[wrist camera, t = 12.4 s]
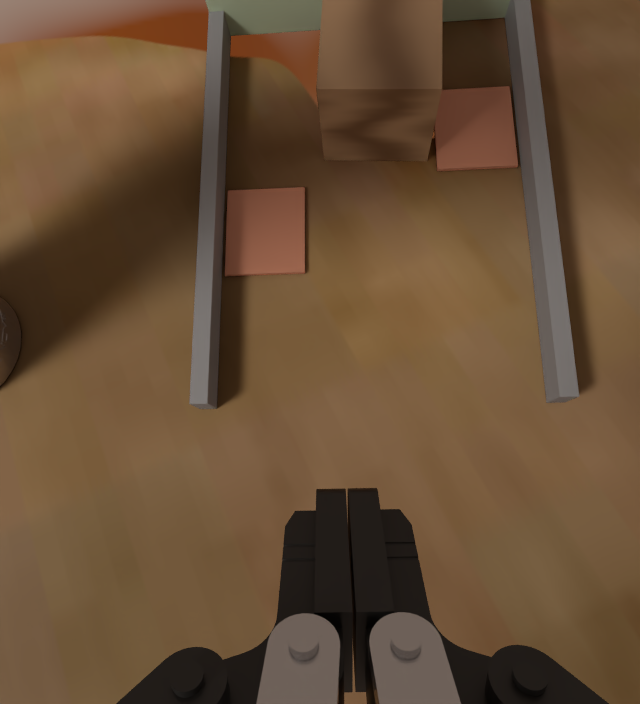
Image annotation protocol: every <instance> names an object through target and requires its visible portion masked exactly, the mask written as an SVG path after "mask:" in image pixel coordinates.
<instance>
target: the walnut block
mask: <svg viewBox="0 0 640 704" xmlns="http://www.w3.org/2000/svg"><path fill="white" fill-rule="evenodd" d="M442 9H443V0H322V14H321V28H320V43H319V58H318V73H317V88H316V89H317V99H318V109H319V118H320V127H321V136H322V145H323V154H324V160H351V161H427V160H428V155H429V150H430V145H431V140H432V135H433V130H434V126H435V121H436V116H437V111H438V107H439V102H440V97H441V92H442Z"/></svg>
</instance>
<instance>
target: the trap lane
mask: <svg viewBox="0 0 640 704" xmlns="http://www.w3.org/2000/svg"><path fill="white" fill-rule="evenodd" d="M205 1H206V4H207V7H208V10H209V21H208V41H207V62H206V82H205V102H204V122H203V142H202V163H201V183H200V203H199V223H198V243H197V264H196V284H195V304H194V324H193V344H192V365H191V385H190V404H191V405H193V406H195V407H197V408H199V409H217V393H218V366H219V340H220V313H221V286H222V259H223V232H224V205H225V179H226V152H227V125H228V98H229V71H230V45H231V42H230V41H231V36H235V35H250V34H265V33H281V32H296V31H311V30H320V28H321V14H322V0H205ZM493 18H505V25H506V34H507V43H508V52H509V61H510V71H511V80H512V89H513V98H514V107H515V116H516V126H517V135H518V144H519V153H520V162H521V171H522V181H523V190H524V199H525V208H526V217H527V227H528V236H529V245H530V254H531V263H532V272H533V282H534V291H535V300H536V309H537V318H538V327H539V337H540V346H541V355H542V364H543V373H544V383H545V392H546V401H547V403H551V402H567V401H569V400H572V399H574V398H577V397H579V390H578V382H577V374H576V366H575V358H574V350H573V342H572V334H571V326H570V318H569V310H568V302H567V293H566V285H565V277H564V269H563V261H562V253H561V245H560V237H559V229H558V221H557V213H556V205H555V197H554V188H553V180H552V172H551V164H550V156H549V148H548V140H547V132H546V124H545V116H544V108H543V100H542V91H541V83H540V75H539V67H538V59H537V51H536V43H535V35H534V27H533V19H532V11H531V3H530V0H443V9H442V22H448V21H463V20H478V19H493ZM434 131H435V147H436V162H437V171H454V170H475V169H496V168H517V167H518V159H517V150H516V141H515V132H514V122H513V113H512V104H511V94H510V86H502V87H485V88H468V89H450V90H442V92H441V97H440V102H439V107H438V111H437V116H436V121H435V126H434ZM277 274H305V187H294V188H272V189H250V190H229V191H228V200H227V228H226V256H225V276H248V275H277Z"/></svg>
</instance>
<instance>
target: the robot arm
mask: <svg viewBox="0 0 640 704" xmlns="http://www.w3.org/2000/svg"><path fill="white" fill-rule="evenodd" d="M20 347H21V329H20V324H19V320H18V318H17V316H16V314H15V312H14V310H13V309H12V308H11V306H10V305H9V304H8V303H7V302H6V301H5V300H4V299H2V298H1V297H0V386H1V385H2V384H3V383H4V382H5V380H6V379H7V377H8V376H9V374H10V373H11V372H12V370H13V368H14V366H15V363H16V361H17V359H18V356H19V351H20ZM352 641H353V653H354V672H355V690H356V692H366V697H367V704H609V703H607V702H606V701H605V700H604V699H602V698H601V697H600V696H598V695H597V694H596V693H595V692H593V691H592V690H591V689H590V688H588V687H587V686H586V685H585V684H583V683H582V682H581V681H579V680H578V679H577V678H576V677H574V676H573V675H572V674H571V673H569V672H568V671H567V670H566V669H564V668H563V667H562V666H560V665H559V664H558V663H557V662H555V661H554V660H553V659H552V658H550V657H549V656H547V655H546V654H545V653H543V652H541V651H539V650H537V649H534V648H532V647H528V646H522V645H511V646H507V647H504V648H502V649H500V650H498V651H497V652H496V653H495V654H494V655H493V656H492V657H489V656H486V655H482V654H479V653H475V652H472V651H469V650H466V649H463V648H461V647H459V646H457V645H455V644H453V643H452V642H450V641H449V640H447V639H446V638H445V637H444V636H443V635H442V634H441V633H440V632H439V631H438V629H437V628H436V626H435V625H434V623H433V621H432V618H431V615H430V611H429V606H428V601H427V597H426V592H425V587H424V582H423V578H422V573H421V568H420V563H419V560H418V554H417V549H416V545H415V539H414V534H413V530H412V525H411V523H410V522H409V521H408V519H407V518H406V517H405V516H404V514H403V513H402V512H401V510H400V509H386V510H380V504H379V497H378V490H377V488H350V489H348V524H347V506H346V490H345V489H317V490H316V511H295V512H294V514H293V515H292V517H291V518H290V520H289V521H288V523H287V525H286V526H285V535H284V547H283V558H282V569H281V580H280V591H279V602H278V613H277V620H276V623H275V626H274V628H273V630H272V632H271V633H270V635H269V636H268V637H267V638H266V639H265V640H264V641H263V642H262V643H261V644H260V645H258V646H257V647H255V648H254V649H252V650H250V651H247V652H245V653H242V654H239V655H236V656H233V657H230V658H227V659H224V660H222V658H221V657H220V656H219V655H218V654H217V653H215V652H214V651H212V650H210V649H207V648H203V647H192V648H186V649H183V650H180V651H178V652H176V653H174V654H172V655H171V656H169V657H168V658H167V659H165V660H164V661H163V662H162V663H161V664H160V665H159V666H158V667H156V668H155V669H154V670H153V671H152V672H151V673H150V674H149V675H148V676H146V677H145V678H144V679H143V680H142V681H141V682H140V683H139V684H138V685H136V686H135V687H134V688H133V689H132V690H131V691H130V692H129V693H128V694H127V695H125V696H124V697H123V698H122V699H121V700H120V701H119V702H118V703H117V704H344V692H352Z"/></svg>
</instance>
